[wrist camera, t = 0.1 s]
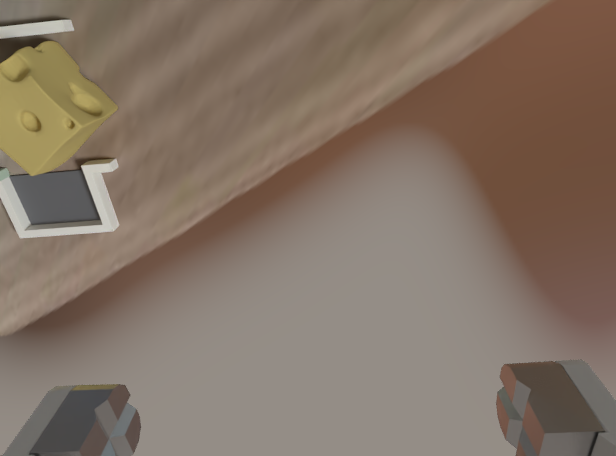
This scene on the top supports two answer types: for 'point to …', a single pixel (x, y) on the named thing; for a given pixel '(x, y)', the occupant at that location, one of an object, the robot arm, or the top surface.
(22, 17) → the top surface
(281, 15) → the top surface
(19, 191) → the frame
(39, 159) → the cheese
